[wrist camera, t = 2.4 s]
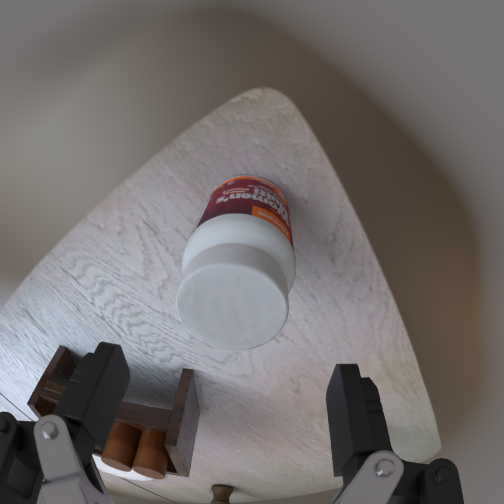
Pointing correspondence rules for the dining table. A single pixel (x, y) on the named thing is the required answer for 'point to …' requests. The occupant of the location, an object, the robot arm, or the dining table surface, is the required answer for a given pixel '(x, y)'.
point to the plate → (119, 471)
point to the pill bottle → (238, 266)
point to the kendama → (221, 494)
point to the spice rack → (133, 424)
